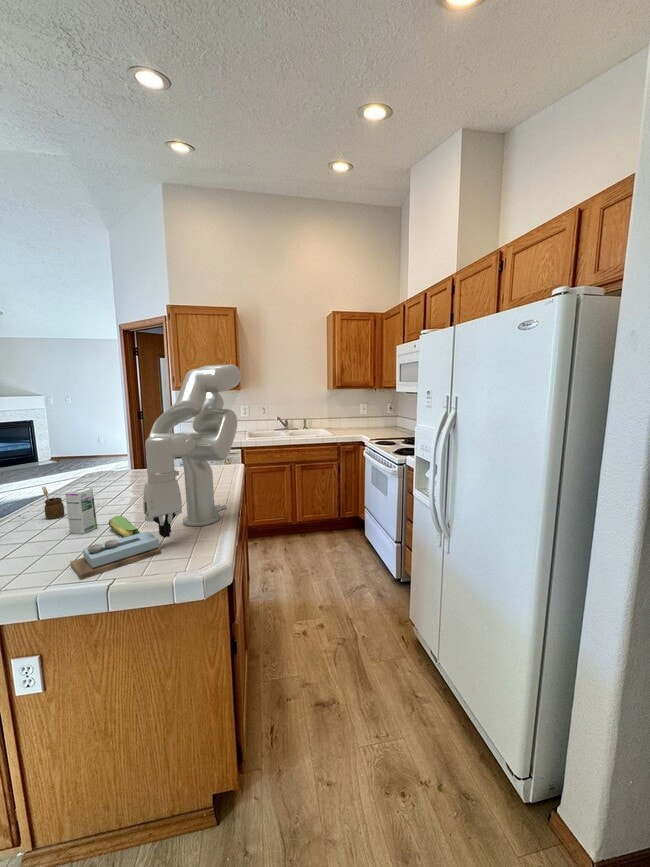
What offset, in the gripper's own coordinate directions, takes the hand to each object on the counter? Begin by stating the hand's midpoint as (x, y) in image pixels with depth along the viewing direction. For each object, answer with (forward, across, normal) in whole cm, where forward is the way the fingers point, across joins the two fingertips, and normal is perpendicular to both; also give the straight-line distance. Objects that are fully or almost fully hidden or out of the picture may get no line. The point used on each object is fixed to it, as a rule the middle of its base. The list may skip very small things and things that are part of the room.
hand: (165, 536), depth 113 cm
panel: (+1, +12, 0) cm, 12 cm away
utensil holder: (+3, +18, -58) cm, 61 cm away
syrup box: (+3, +14, -33) cm, 36 cm away
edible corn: (+3, +6, -19) cm, 20 cm away
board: (+3, +14, 0) cm, 14 cm away
